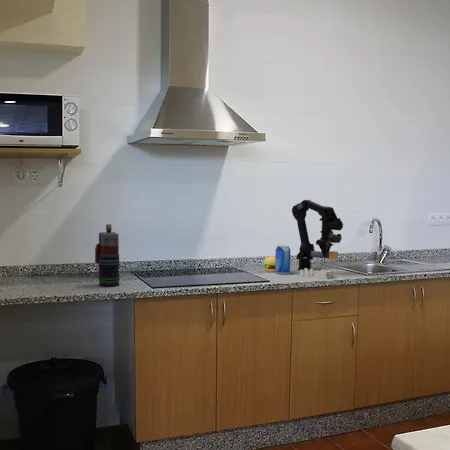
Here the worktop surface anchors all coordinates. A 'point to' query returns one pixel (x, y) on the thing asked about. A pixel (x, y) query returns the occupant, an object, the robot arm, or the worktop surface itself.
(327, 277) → the cream arch-shaped block
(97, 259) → the thermos flask
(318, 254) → the stamp-like rod
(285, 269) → the beer can
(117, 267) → the storage jar
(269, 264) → the hamburger
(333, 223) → the robot arm
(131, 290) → the worktop surface
